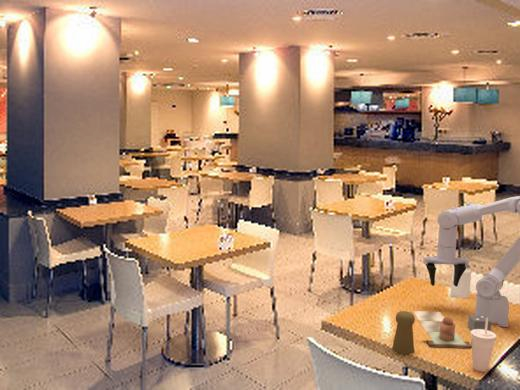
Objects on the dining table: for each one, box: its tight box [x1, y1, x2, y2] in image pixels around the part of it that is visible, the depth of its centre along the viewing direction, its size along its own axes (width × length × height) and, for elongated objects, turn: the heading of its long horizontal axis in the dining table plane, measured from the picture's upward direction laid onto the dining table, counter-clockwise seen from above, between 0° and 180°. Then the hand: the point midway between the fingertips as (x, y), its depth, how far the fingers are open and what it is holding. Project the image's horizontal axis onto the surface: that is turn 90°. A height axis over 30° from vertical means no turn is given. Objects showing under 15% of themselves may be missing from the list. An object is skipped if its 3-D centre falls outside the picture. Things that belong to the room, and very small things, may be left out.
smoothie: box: [469, 318, 497, 373], centre depth 144 cm, size 6×6×14 cm
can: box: [450, 264, 472, 299], centre depth 201 cm, size 6×6×12 cm
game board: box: [413, 310, 472, 350], centre depth 171 cm, size 12×27×1 cm, turn 178°
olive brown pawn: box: [392, 310, 416, 355], centre depth 155 cm, size 6×6×11 cm
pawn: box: [439, 316, 456, 341], centre depth 162 cm, size 4×4×6 cm
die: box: [467, 314, 492, 332], centre depth 169 cm, size 5×5×5 cm
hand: (443, 285), depth 185 cm, fingers open, 7 cm apart
